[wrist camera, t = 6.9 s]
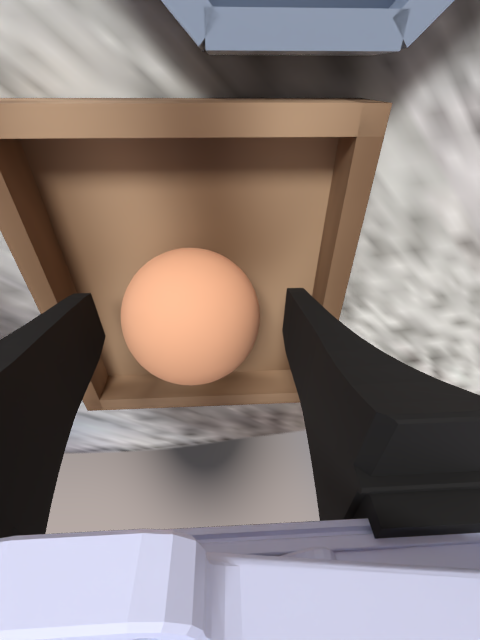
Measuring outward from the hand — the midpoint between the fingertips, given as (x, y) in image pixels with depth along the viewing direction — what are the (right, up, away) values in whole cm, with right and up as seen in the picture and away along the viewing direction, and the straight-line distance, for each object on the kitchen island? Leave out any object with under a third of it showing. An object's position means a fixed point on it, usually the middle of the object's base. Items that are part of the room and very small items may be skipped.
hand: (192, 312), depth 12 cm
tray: (0, +2, +3) cm, 3 cm away
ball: (0, 0, 0) cm, 0 cm away
